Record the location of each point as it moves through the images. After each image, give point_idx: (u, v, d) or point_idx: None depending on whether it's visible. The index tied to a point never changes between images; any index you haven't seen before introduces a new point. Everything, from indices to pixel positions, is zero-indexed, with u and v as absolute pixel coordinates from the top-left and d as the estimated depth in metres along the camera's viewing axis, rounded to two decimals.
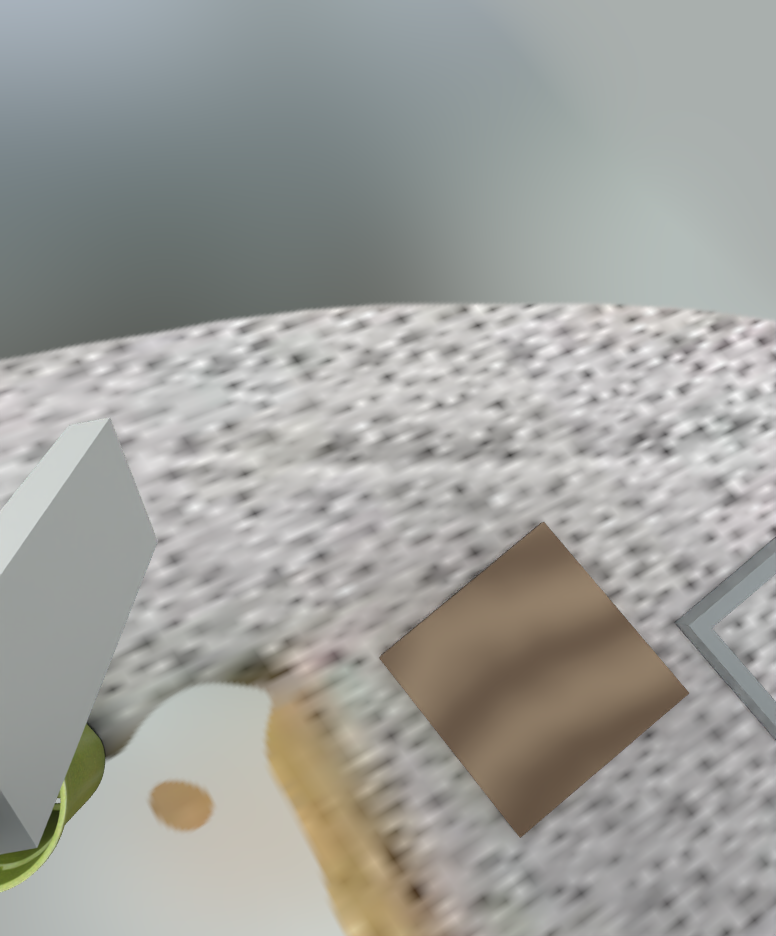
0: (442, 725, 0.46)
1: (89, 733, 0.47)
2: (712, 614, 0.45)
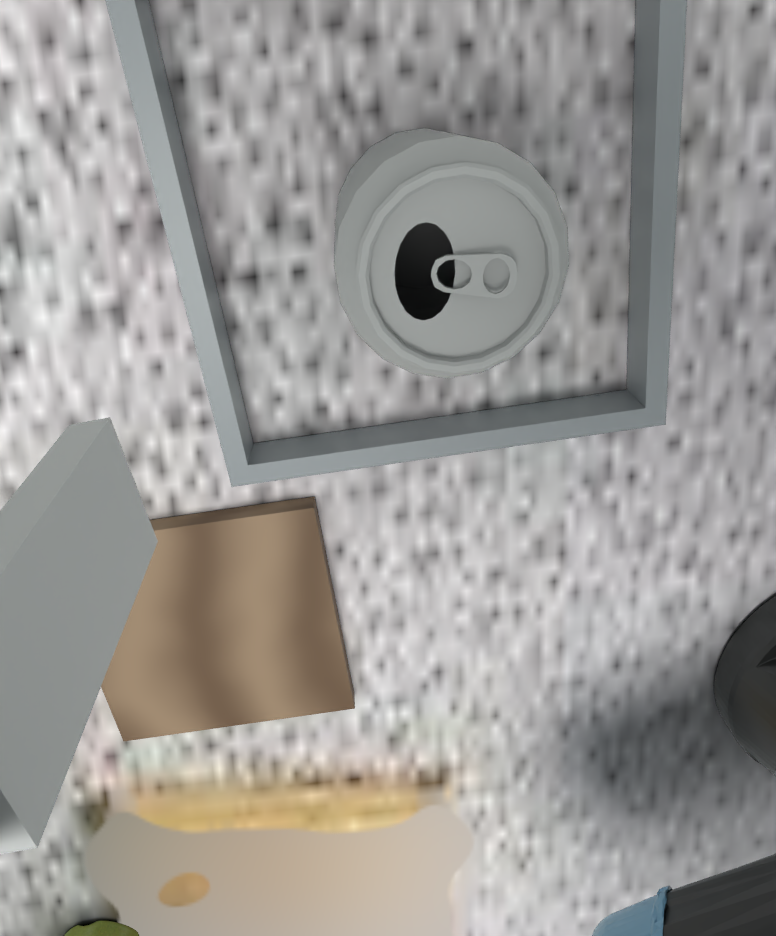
0: (217, 721, 0.43)
1: None
2: (232, 455, 0.34)
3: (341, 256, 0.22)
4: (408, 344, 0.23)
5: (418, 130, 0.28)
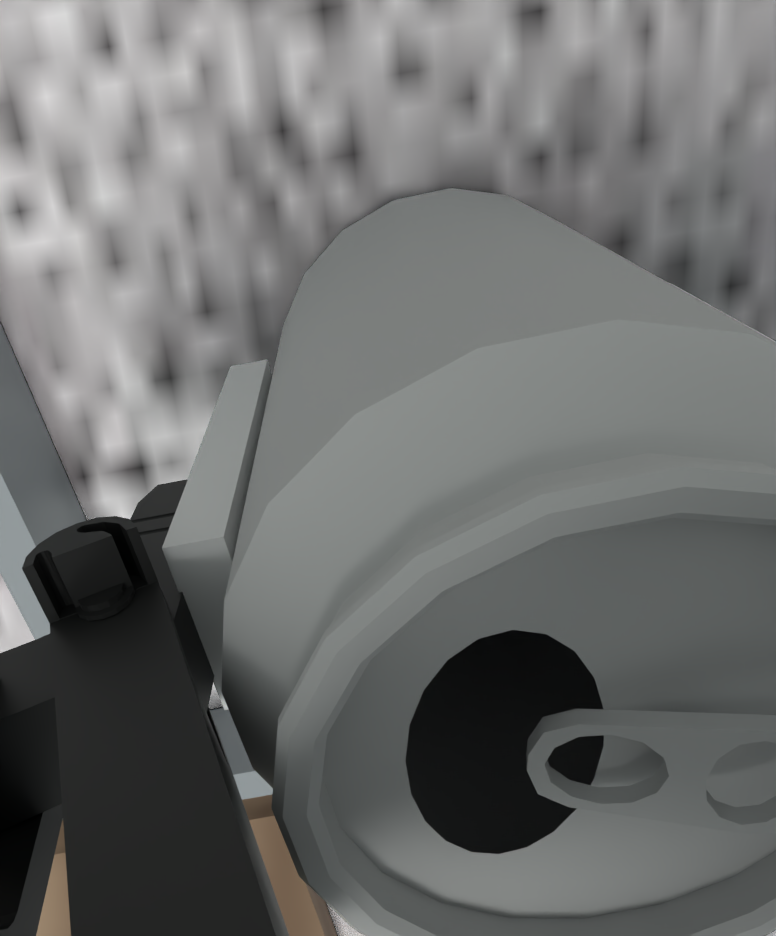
0: None
1: None
2: None
3: (237, 680, 0.07)
4: (453, 903, 0.08)
5: (441, 200, 0.13)
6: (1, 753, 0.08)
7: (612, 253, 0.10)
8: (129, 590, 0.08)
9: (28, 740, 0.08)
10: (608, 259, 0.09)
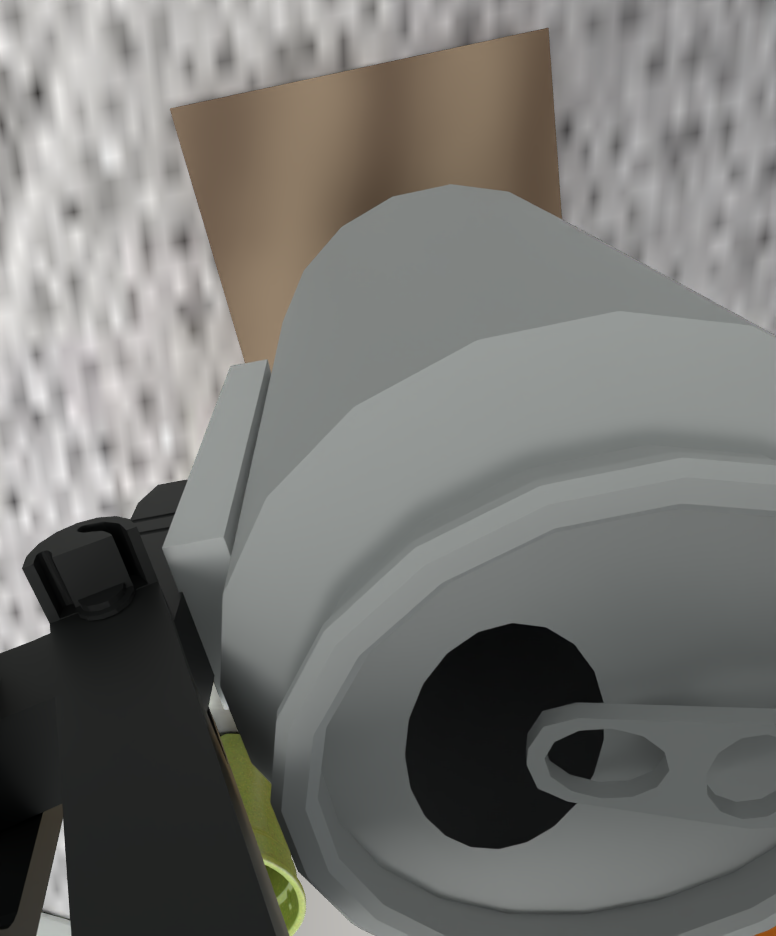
0: None
1: None
2: None
3: (237, 674, 0.07)
4: (452, 899, 0.08)
5: (440, 196, 0.13)
6: (1, 753, 0.08)
7: (612, 248, 0.10)
8: (129, 590, 0.08)
9: (29, 740, 0.08)
10: (608, 253, 0.09)
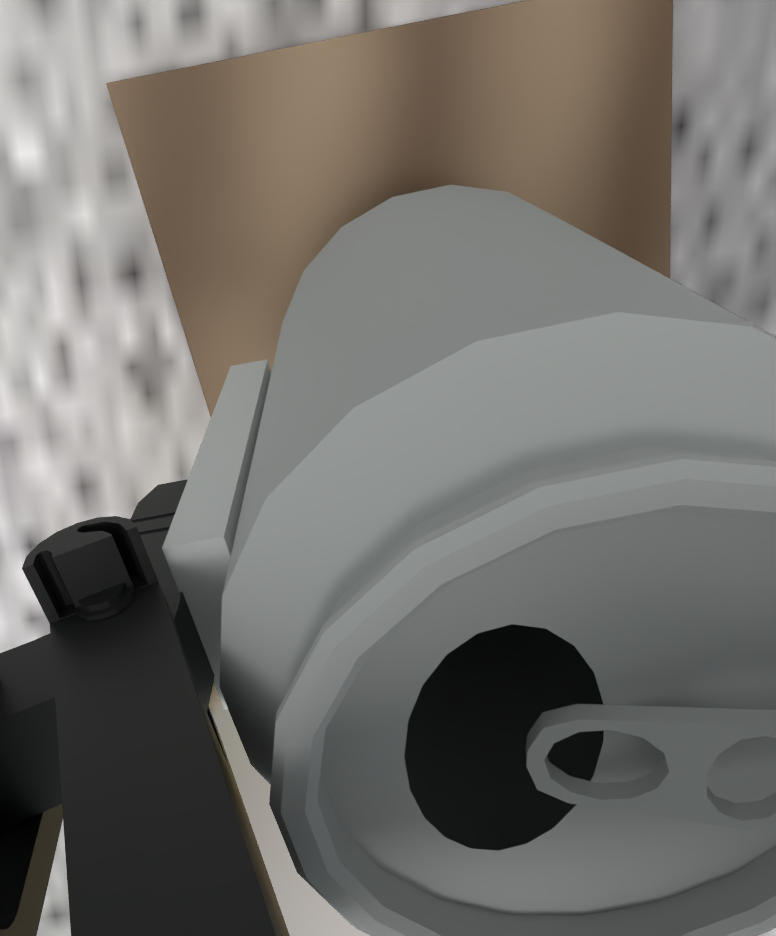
0: None
1: None
2: None
3: (236, 675, 0.07)
4: (451, 899, 0.08)
5: (440, 197, 0.13)
6: (1, 753, 0.08)
7: (612, 248, 0.10)
8: (129, 590, 0.08)
9: (29, 740, 0.08)
10: (608, 254, 0.09)
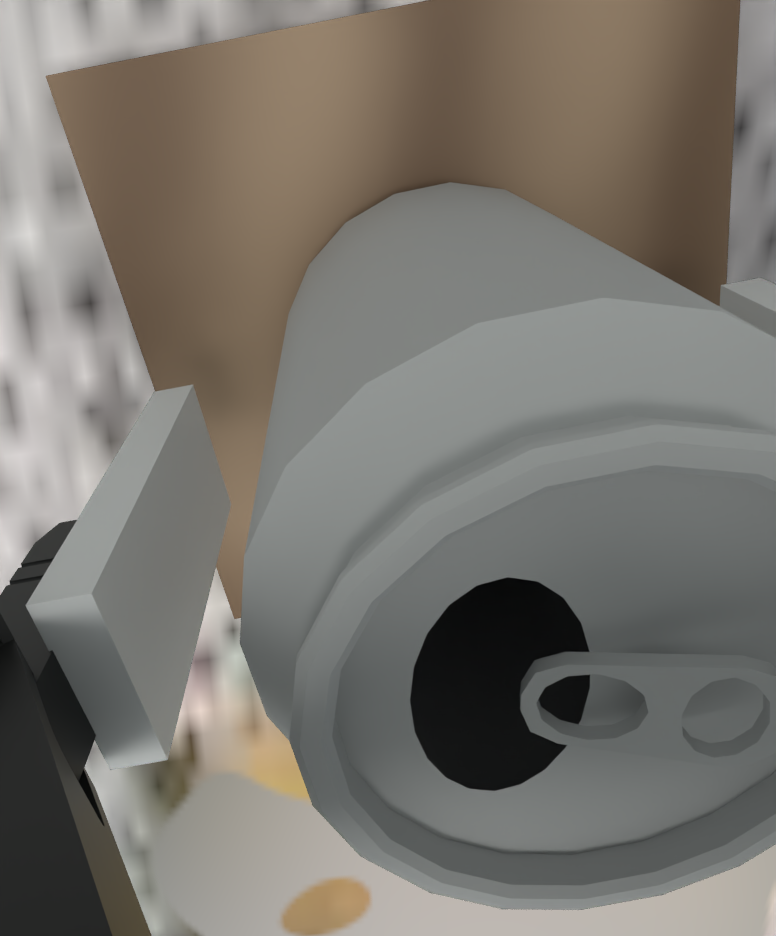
0: None
1: None
2: None
3: (256, 630, 0.08)
4: (452, 839, 0.08)
5: (440, 194, 0.14)
6: None
7: (602, 243, 0.10)
8: None
9: None
10: (597, 247, 0.09)
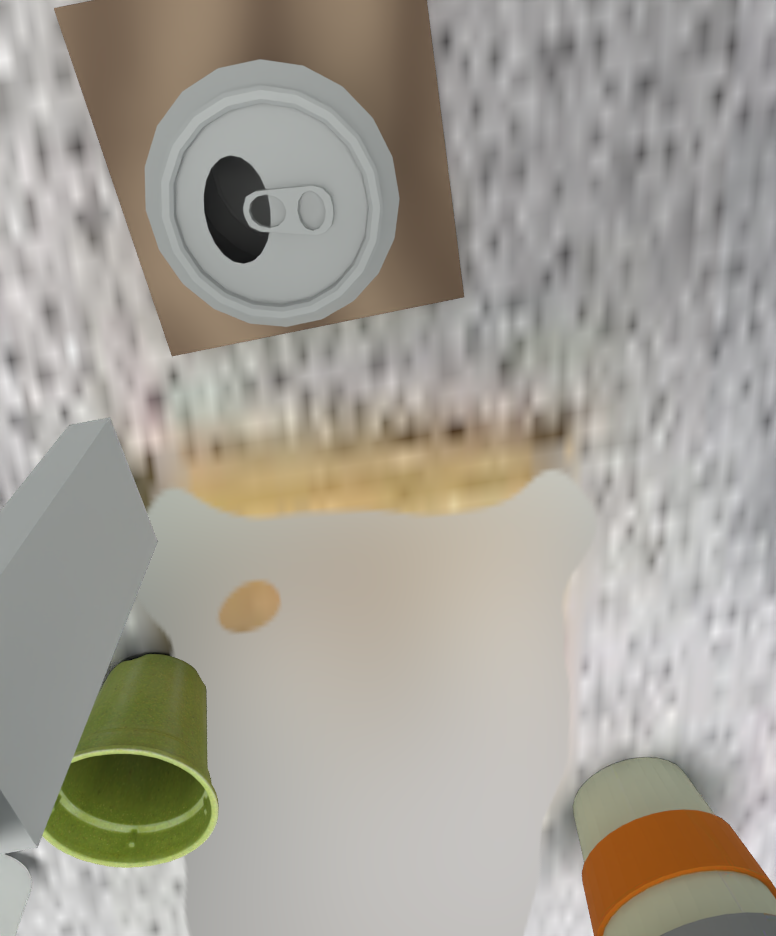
0: None
1: (132, 667, 0.42)
2: None
3: (150, 198, 0.21)
4: (231, 290, 0.21)
5: None
6: None
7: None
8: None
9: None
10: None
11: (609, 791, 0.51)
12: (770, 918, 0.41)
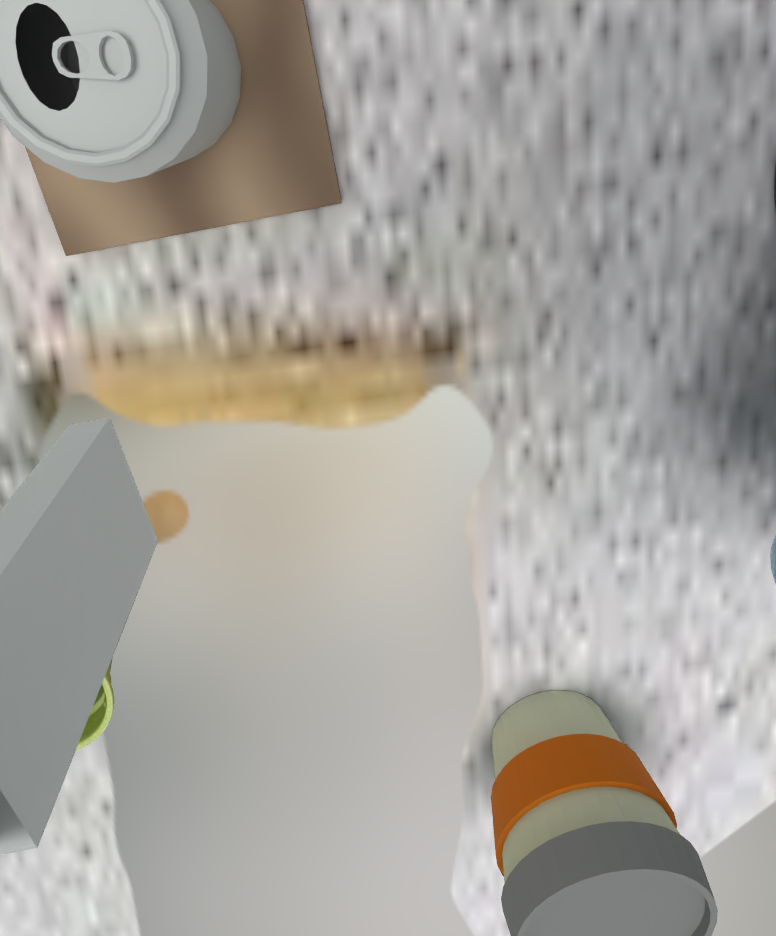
0: (176, 223, 0.35)
1: None
2: None
3: None
4: (50, 137, 0.23)
5: None
6: None
7: None
8: None
9: None
10: None
11: (521, 720, 0.52)
12: (653, 828, 0.42)
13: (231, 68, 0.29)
